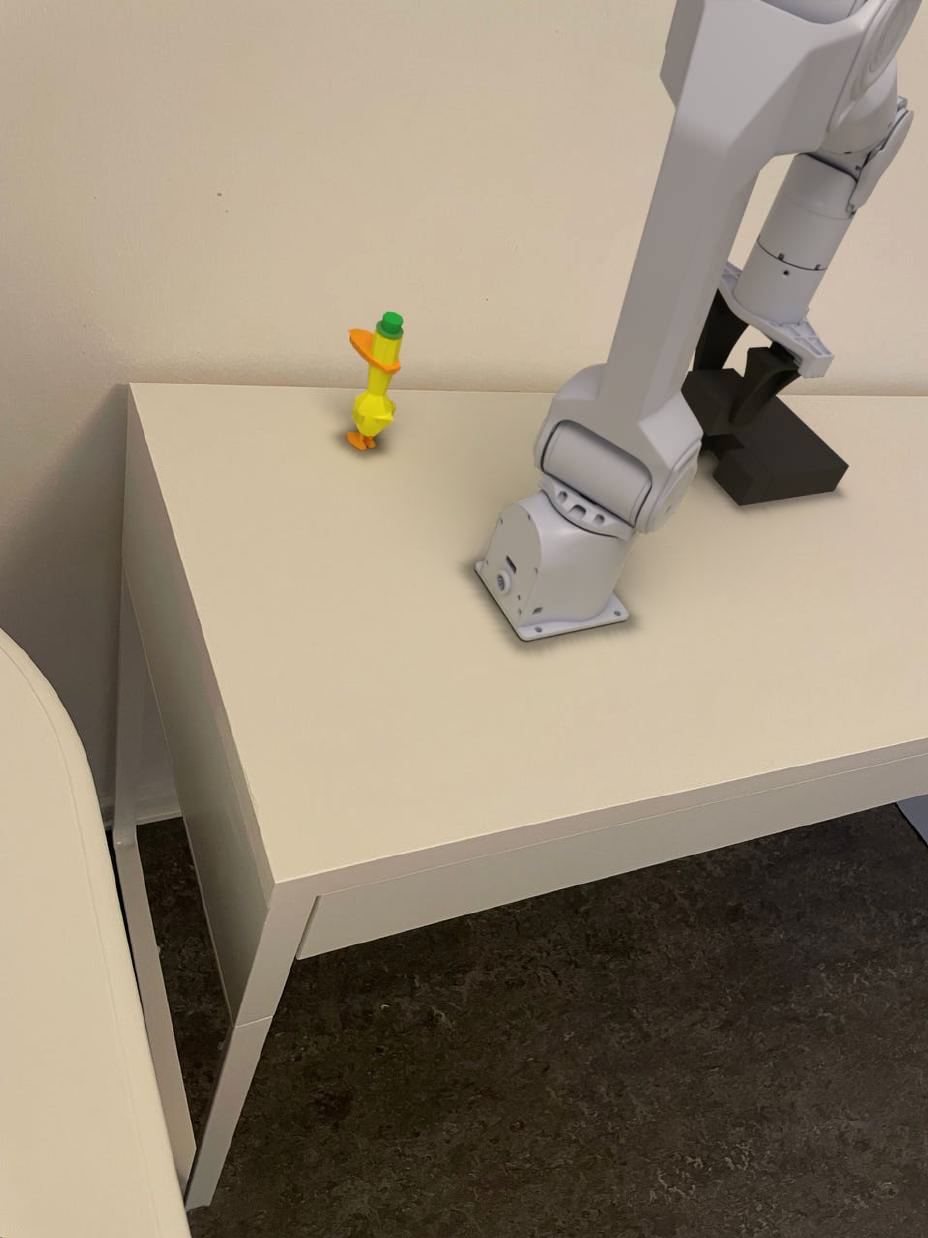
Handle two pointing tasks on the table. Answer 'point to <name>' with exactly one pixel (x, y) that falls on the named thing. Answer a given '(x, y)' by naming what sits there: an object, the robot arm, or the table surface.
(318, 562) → the table surface
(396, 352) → the toy figure
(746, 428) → the dark brown stepped block
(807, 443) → the big pad
